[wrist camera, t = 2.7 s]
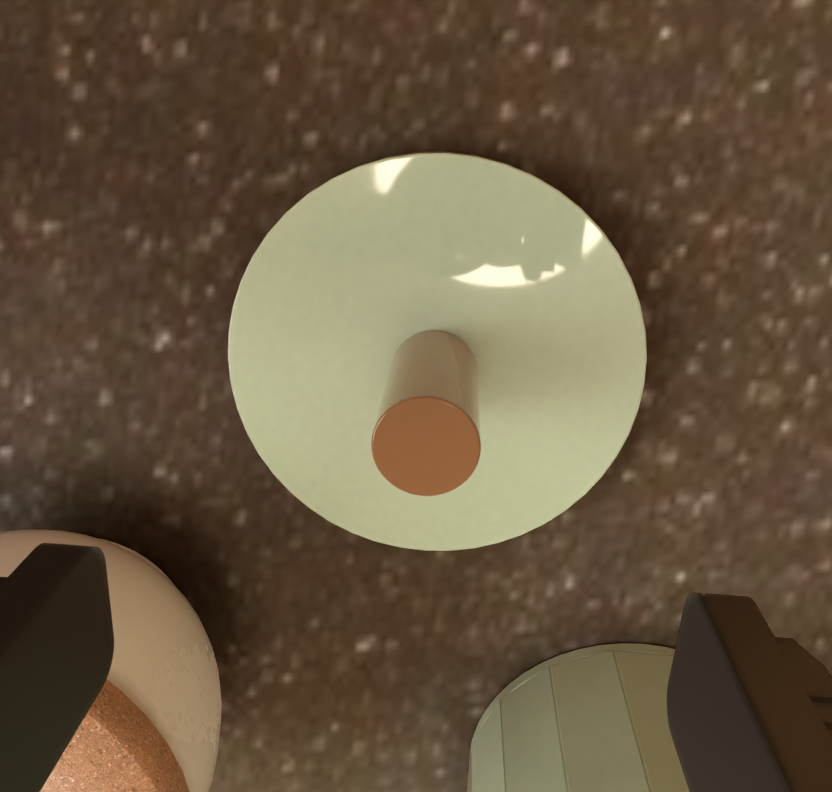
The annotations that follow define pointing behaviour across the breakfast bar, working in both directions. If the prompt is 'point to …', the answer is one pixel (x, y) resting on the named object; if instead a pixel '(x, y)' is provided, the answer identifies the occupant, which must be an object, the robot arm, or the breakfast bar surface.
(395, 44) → the breakfast bar surface
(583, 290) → the canister lid
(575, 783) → the canister
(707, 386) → the breakfast bar surface
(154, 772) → the lidded bowl
